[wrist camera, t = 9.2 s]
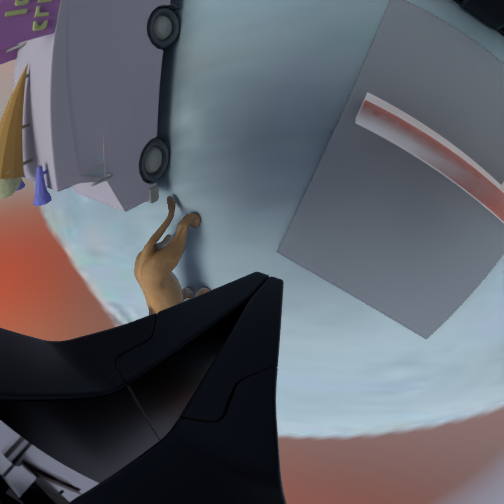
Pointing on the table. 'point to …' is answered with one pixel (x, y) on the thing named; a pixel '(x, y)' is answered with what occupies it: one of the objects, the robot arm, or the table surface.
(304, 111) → the table surface
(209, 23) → the table surface
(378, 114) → the gate panel
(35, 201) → the toy vehicle
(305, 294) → the table surface
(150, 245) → the lion figurine
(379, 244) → the board
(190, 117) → the table surface
